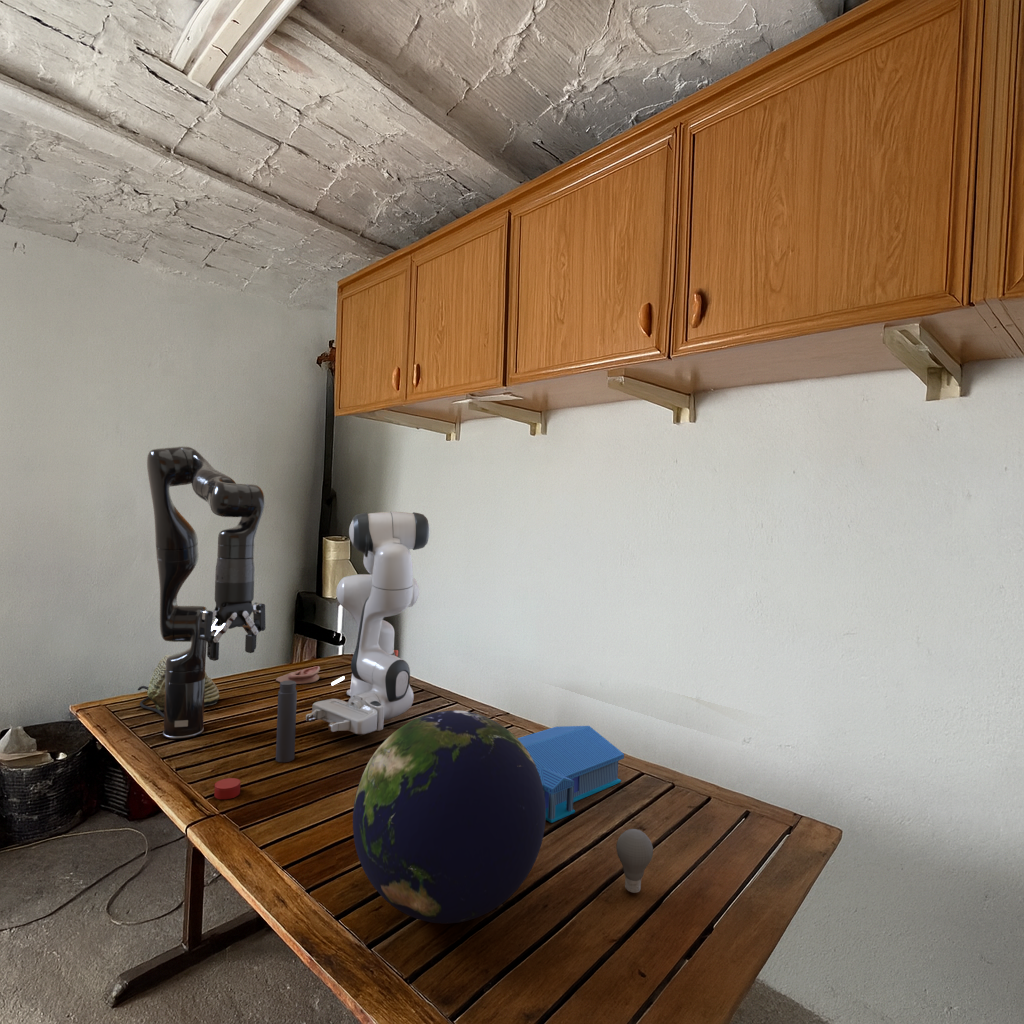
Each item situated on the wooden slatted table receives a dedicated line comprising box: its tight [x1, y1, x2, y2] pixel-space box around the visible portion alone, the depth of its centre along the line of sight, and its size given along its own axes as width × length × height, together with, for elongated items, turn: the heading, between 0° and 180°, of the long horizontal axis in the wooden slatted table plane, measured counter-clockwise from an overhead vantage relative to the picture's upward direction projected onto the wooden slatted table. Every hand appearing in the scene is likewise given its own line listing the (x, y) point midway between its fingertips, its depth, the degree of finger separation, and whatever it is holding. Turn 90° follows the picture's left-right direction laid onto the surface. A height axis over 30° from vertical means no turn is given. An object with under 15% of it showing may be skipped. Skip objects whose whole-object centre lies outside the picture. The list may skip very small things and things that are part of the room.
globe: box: [352, 709, 547, 925], centre depth 100 cm, size 30×30×30 cm
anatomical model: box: [275, 665, 321, 685], centre depth 215 cm, size 13×4×12 cm
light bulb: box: [615, 828, 654, 894], centre depth 106 cm, size 6×6×10 cm
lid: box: [213, 777, 241, 800], centre depth 133 cm, size 5×5×2 cm
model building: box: [516, 725, 625, 824], centre depth 140 cm, size 39×24×10 cm, turn 132°
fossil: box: [147, 654, 221, 712], centre depth 185 cm, size 9×18×15 cm, turn 132°
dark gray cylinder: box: [275, 680, 298, 763], centre depth 152 cm, size 4×4×18 cm
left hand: (232, 656), depth 133 cm, fingers open, 8 cm apart
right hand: (318, 723), depth 159 cm, fingers open, 8 cm apart
